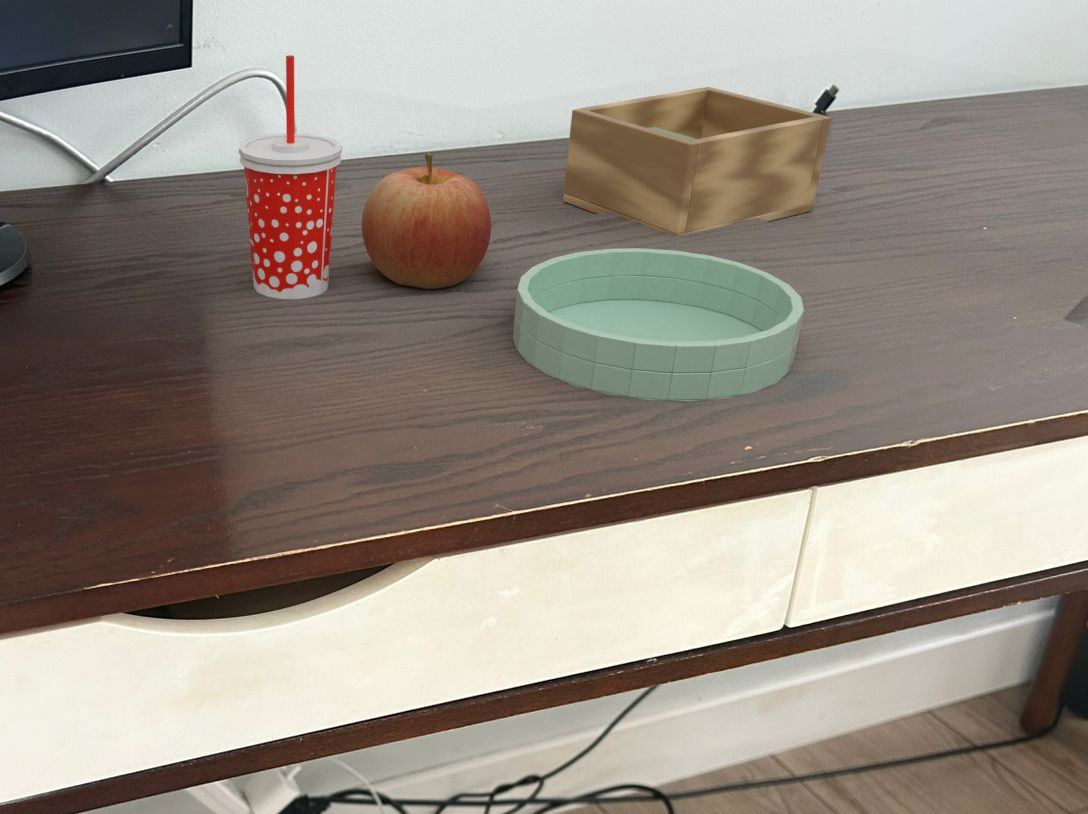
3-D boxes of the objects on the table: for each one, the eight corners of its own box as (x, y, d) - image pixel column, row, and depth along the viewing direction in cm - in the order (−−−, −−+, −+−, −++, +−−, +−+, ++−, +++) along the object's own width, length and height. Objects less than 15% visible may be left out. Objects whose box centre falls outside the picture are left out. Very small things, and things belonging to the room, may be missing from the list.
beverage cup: (285, 270, 89) (283, 41, 81) (359, 290, 86) (365, 54, 78) (222, 295, 85) (214, 57, 77) (297, 318, 82) (297, 72, 74)
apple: (362, 261, 90) (365, 137, 86) (484, 263, 90) (492, 139, 85) (358, 304, 84) (360, 172, 79) (489, 307, 83) (499, 174, 79)
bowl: (652, 288, 86) (660, 233, 84) (850, 369, 75) (864, 307, 73) (458, 336, 79) (462, 278, 77) (645, 433, 68) (655, 368, 66)
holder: (694, 174, 107) (708, 86, 104) (812, 211, 99) (831, 117, 95) (562, 201, 101) (571, 109, 98) (675, 243, 93) (690, 144, 89)
